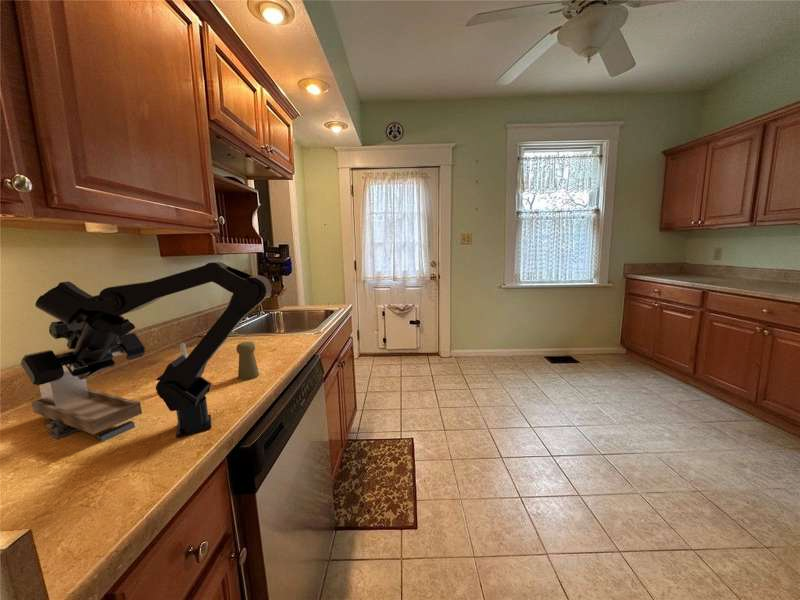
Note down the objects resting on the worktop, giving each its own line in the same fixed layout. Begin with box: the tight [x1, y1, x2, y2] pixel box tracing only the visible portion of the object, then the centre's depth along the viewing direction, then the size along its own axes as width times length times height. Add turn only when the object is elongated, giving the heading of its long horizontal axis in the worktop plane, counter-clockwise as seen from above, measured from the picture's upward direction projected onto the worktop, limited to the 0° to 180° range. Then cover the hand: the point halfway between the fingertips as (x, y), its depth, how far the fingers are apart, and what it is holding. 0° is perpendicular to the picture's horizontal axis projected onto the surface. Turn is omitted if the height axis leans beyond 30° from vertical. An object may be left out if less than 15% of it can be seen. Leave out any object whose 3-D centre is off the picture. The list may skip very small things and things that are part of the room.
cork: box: [236, 341, 260, 381], centre depth 99 cm, size 6×6×11 cm
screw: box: [179, 342, 189, 358], centre depth 93 cm, size 13×5×5 cm
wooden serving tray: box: [31, 388, 143, 435], centre depth 74 cm, size 26×9×3 cm, turn 67°
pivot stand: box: [44, 416, 136, 443], centre depth 74 cm, size 25×13×3 cm, turn 67°
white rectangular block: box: [38, 365, 89, 408], centre depth 76 cm, size 6×6×8 cm
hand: (80, 377), depth 72 cm, fingers closed
